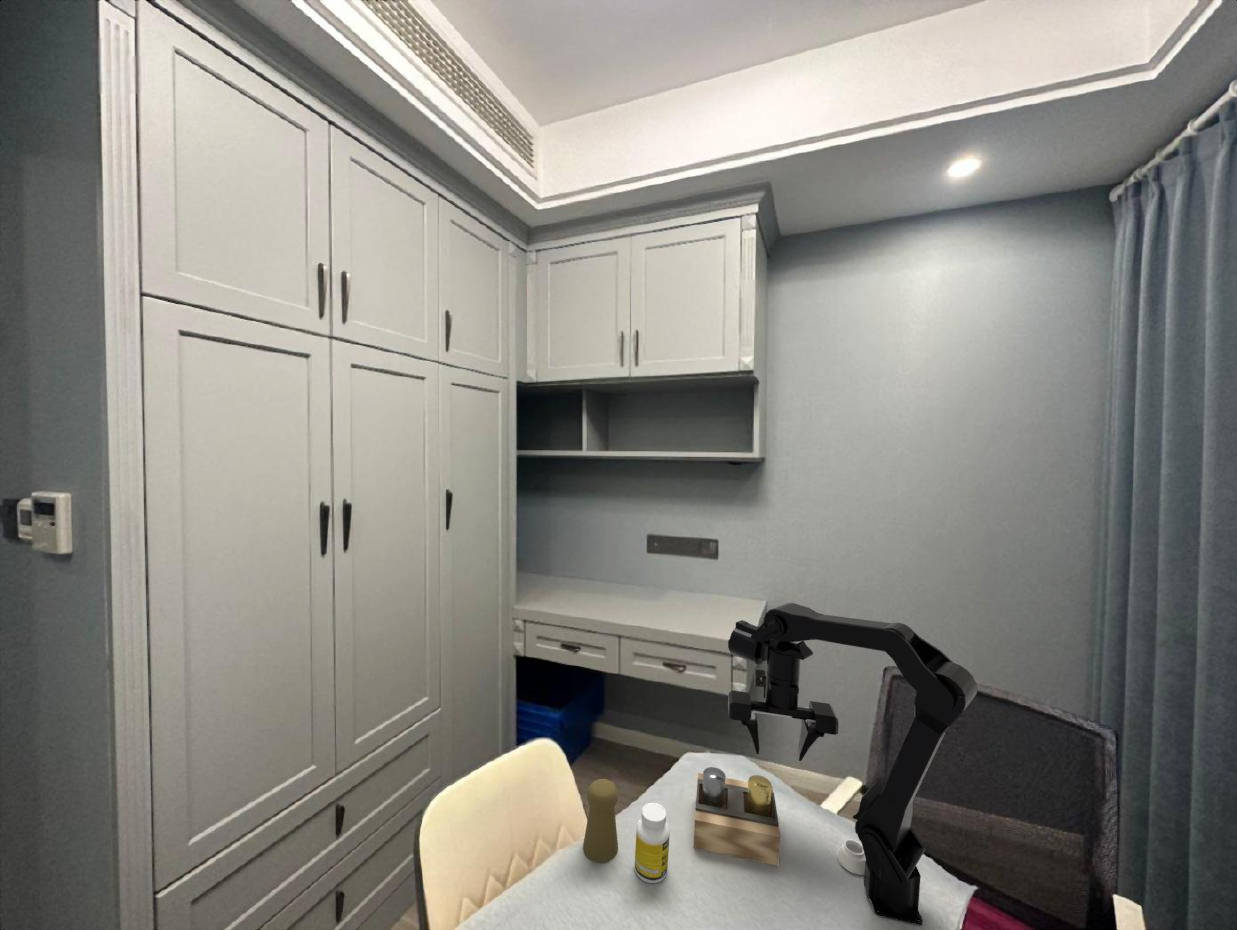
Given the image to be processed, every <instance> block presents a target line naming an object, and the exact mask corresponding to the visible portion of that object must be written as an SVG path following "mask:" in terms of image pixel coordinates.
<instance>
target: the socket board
mask: <svg viewBox="0 0 1237 930" xmlns="http://www.w3.org/2000/svg"><path fill="white" fill-rule="evenodd" d="M696 785H697V786H696V796H695V813H694V828H693V829H694V831H693V849H696V850H697V849H698V850H702V851H708V852H710V853H711V852H712V853H716V854H721V855H726V856H730V857H735V858H740V859H742V860H743V859H745V860H748V861H754V862H756V863H757V862H758V863H763V864H768V865H772V866H776V867H779V866H780V864H779V863H780V847H781V833H780V825H779V817H778V811H777V803H776V797H775V792H774V787H773V786H772V789H771V807H770V814H769V816H767V817H765V816H759V815H754V814H751V813H750V812H749V811H748V809H747V797H748V781H744V780H741V779H740V780H738V779H733V778H728V777H726V779H725V798H724V805H723V806H722V807H721V808H719V807H714V806H708V805H705V804H704V803H703V801H702V788H703V773H701V772H698V773H697V784H696Z"/></svg>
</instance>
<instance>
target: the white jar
mask: <svg viewBox="0 0 1237 930" xmlns="http://www.w3.org/2000/svg"><path fill="white" fill-rule="evenodd" d="M836 853H837V854H836V858H837V861H838V863H839V864H840V865H841V866H842V867H843V868H844V869H846V870H847V871H849V872H850V873H852V874H855V875H859V876H864V871H865V861H866V858H865V854H864V850H863V847H862V843H861V842H859V841H856V840H854V839H850V838H849V839H846V840H845V841H844V842H843V844H842V845H841V846H840V847H839V848H838V850H837V851H836Z"/></svg>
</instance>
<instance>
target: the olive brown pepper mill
mask: <svg viewBox="0 0 1237 930" xmlns="http://www.w3.org/2000/svg"><path fill="white" fill-rule="evenodd" d="M618 798H619V792H618V788H617V786H616V785H615V783H614V782H613V781H612V780H609V779H607V778H599V779H596V780H594V781H593V782H592V783H590V785H589V787H588V790H587V798H586V799H587V802H588V805H589V810H588V814H587V815H588V816H587V821H586V826H585V833H584V836H583V837H584V839H583V843H582V850H583V854H584V856H585V857H586V858H587V859H588V860H589V861H591V862H594V863H596V862H597V864H604V863H608V862H610V861H612V860H613V859H614V858H615V857H616V856H617V854H618V852H619V843H618V831H617V822H616V821H617V820H616V811H615V808H616V804H617V803H618Z"/></svg>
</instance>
